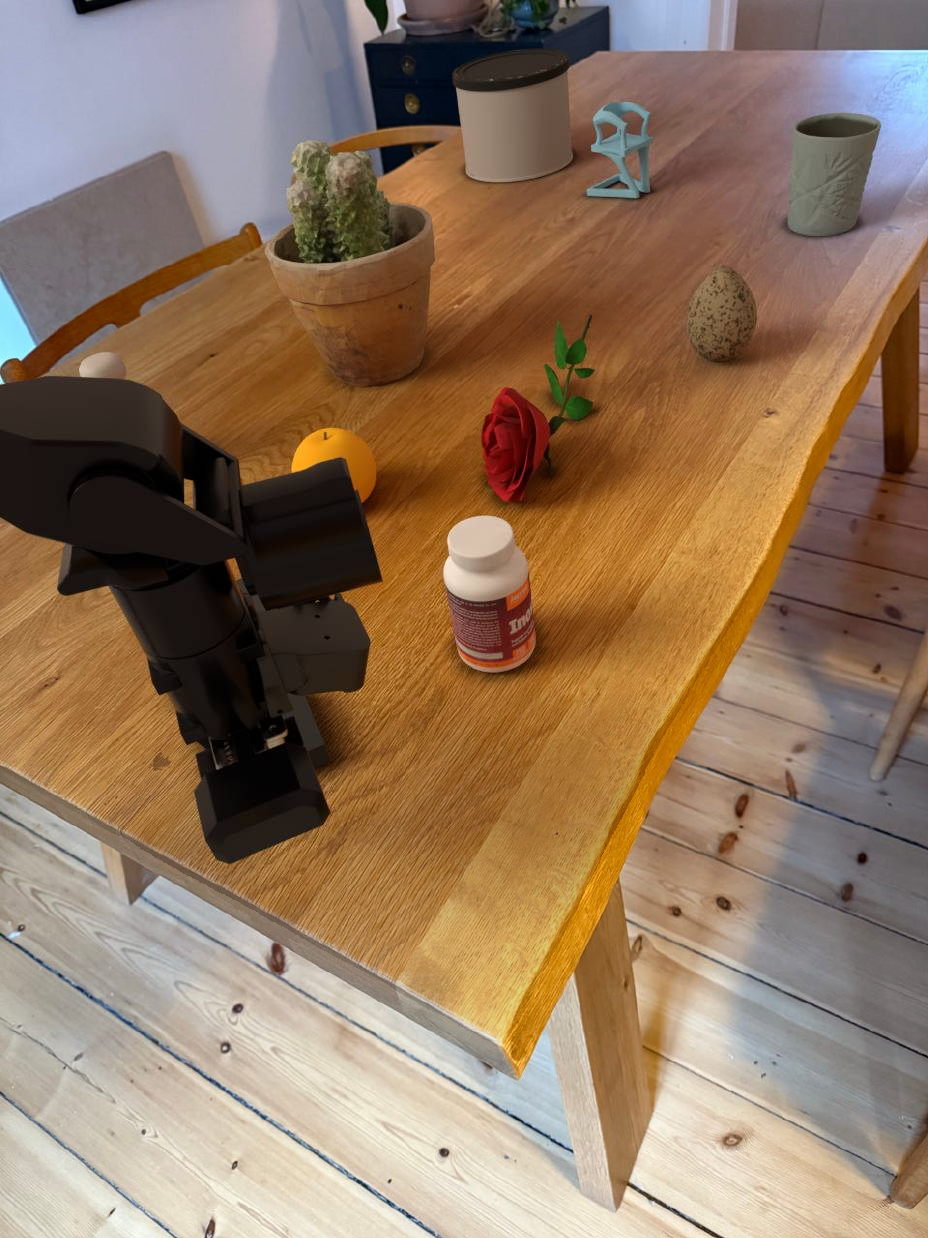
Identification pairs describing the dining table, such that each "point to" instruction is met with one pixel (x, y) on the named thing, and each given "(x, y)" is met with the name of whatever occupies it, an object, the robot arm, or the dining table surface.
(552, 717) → the dining table surface
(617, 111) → the chair
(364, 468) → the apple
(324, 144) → the potted plant
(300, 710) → the dark grey tabbed block
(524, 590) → the pill bottle
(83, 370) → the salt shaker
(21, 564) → the dining table surface
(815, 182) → the green embossed vase
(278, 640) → the robot arm
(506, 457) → the flower
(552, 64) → the container
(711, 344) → the decorative egg
